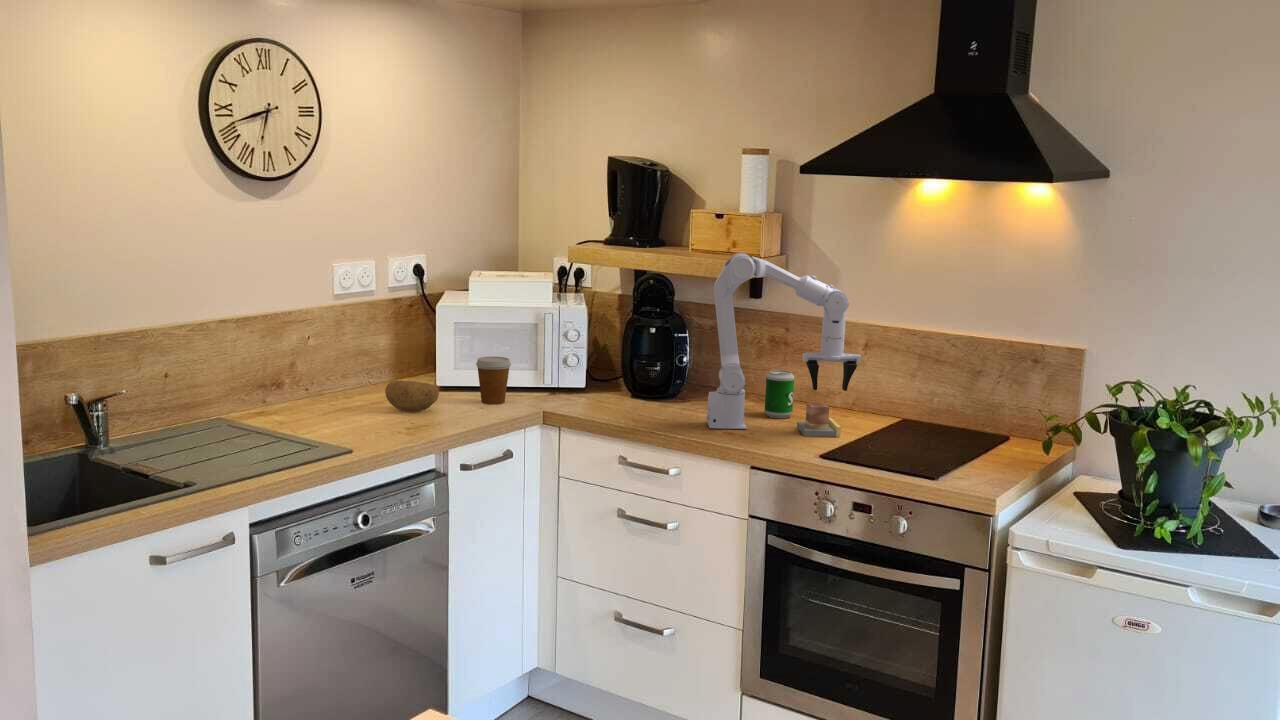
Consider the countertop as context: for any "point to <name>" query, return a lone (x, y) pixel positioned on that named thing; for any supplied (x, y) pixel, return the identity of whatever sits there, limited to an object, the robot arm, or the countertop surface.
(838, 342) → the robot arm
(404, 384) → the potato
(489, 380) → the disposable coffee cup
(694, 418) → the countertop surface
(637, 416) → the countertop surface
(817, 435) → the dock
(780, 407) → the soda can
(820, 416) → the brown rectangular block
